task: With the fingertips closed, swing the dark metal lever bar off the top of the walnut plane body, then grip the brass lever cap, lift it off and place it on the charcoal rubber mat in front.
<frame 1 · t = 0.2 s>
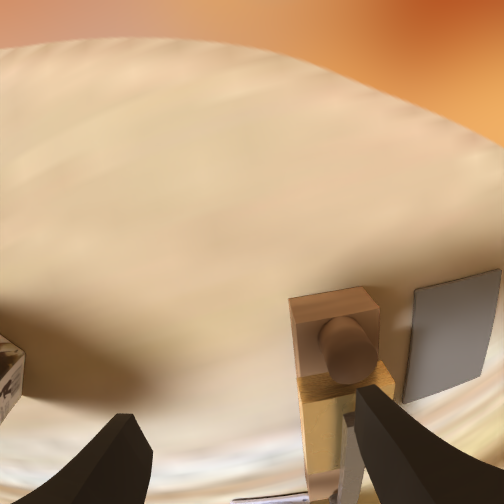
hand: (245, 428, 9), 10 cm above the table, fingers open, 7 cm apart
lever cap: (339, 411, 18), point 3 cm above the table, touching plane body
plane body: (330, 407, 21), on the table
mat: (453, 339, 20), on the table
lever: (345, 475, 17), point 5 cm above the table, hinge at 0.0°
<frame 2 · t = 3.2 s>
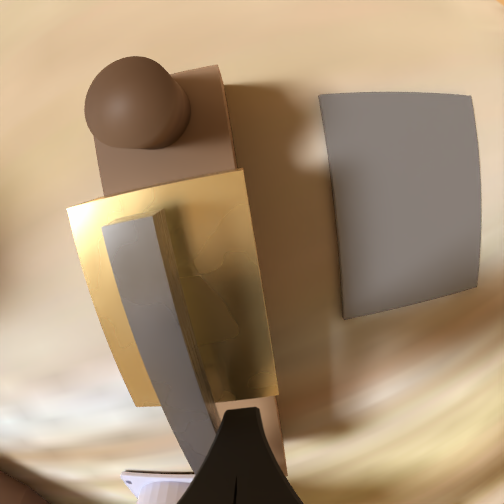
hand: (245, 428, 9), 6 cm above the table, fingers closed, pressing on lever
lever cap: (187, 283, 11), point 3 cm above the table, touching plane body
plane body: (210, 309, 15), on the table
mat: (415, 201, 13), on the table
brown round pot: (22, 497, 22), on the table
lever: (211, 425, 10), point 5 cm above the table, hinge at 0.0°, touching gripper
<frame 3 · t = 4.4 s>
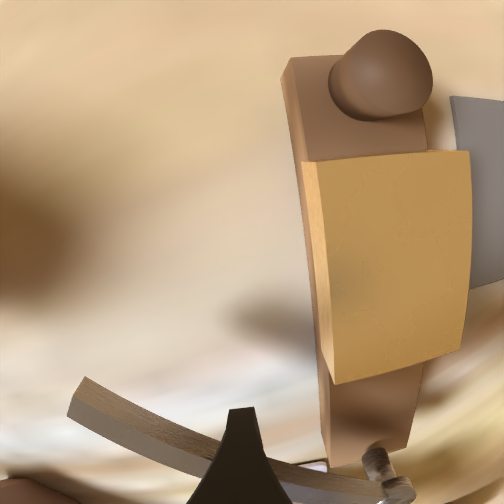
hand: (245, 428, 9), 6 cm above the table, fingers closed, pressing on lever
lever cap: (381, 253, 11), point 3 cm above the table, touching plane body
plane body: (357, 286, 14), on the table
lever: (275, 456, 11), point 5 cm above the table, hinge at 49.5°, touching gripper
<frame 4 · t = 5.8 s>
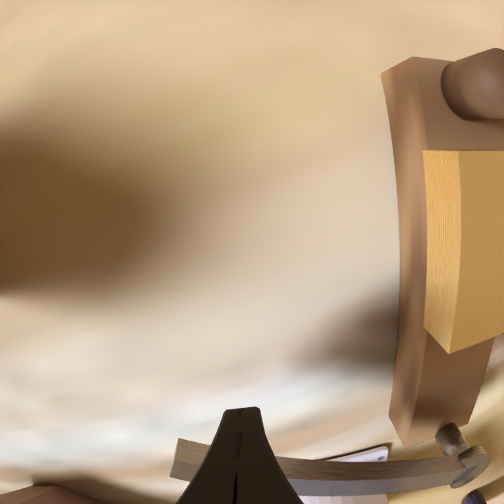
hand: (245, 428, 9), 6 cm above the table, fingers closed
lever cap: (475, 236, 11), point 3 cm above the table, touching plane body
plane body: (437, 269, 14), on the table
lever: (361, 457, 11), point 5 cm above the table, hinge at 64.1°, touching gripper
flask: (471, 499, 24), on the table
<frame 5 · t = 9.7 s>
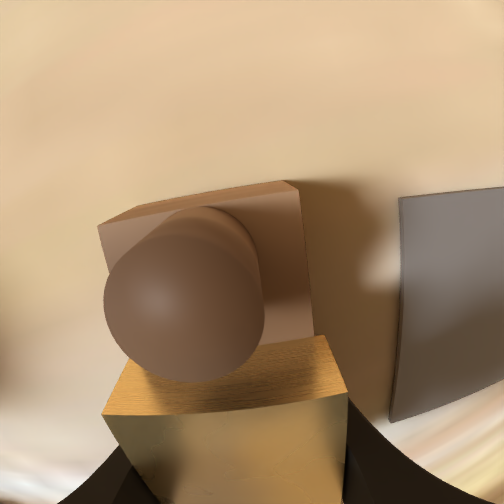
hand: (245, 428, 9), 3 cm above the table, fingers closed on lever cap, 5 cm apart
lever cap: (246, 440, 9), point 3 cm above the table, touching gripper, plane body
plane body: (255, 424, 12), on the table
mat: (477, 308, 11), on the table
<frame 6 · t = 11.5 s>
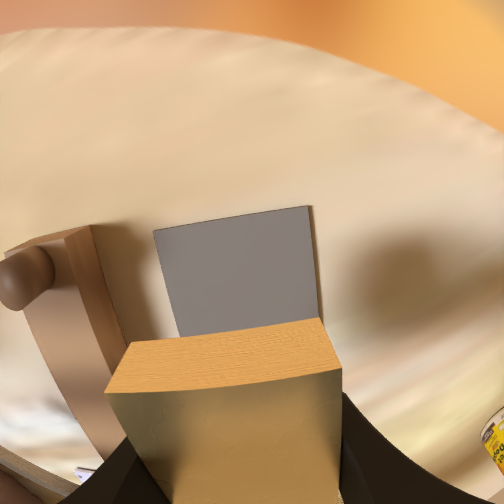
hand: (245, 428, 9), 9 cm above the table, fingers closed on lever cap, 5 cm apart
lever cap: (244, 425, 9), point 9 cm above the table, touching gripper
plane body: (106, 369, 19), on the table
mat: (244, 306, 18), on the table
brown round pot: (10, 488, 27), on the table
supplement bottle: (497, 420, 23), on the table
lever: (52, 468, 16), point 5 cm above the table, hinge at 64.4°
when the fingers open (2 cm above the table, at t = 13.3 s): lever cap drops 1 cm, resting on mat.
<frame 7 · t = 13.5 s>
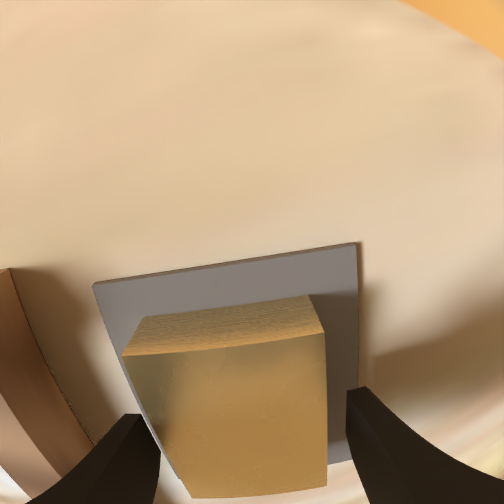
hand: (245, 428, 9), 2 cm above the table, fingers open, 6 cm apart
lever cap: (242, 395, 10), resting on mat
plane body: (63, 447, 12), on the table
mat: (245, 395, 11), on the table
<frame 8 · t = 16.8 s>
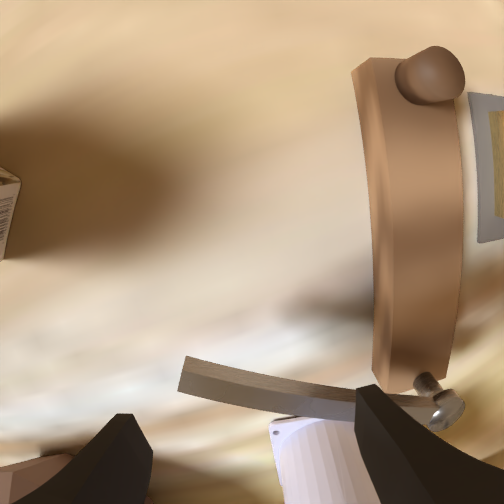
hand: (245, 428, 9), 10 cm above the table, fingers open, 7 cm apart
plane body: (405, 232, 18), on the table
brown round pot: (94, 489, 26), on the table
lever: (341, 388, 14), point 5 cm above the table, hinge at 64.4°
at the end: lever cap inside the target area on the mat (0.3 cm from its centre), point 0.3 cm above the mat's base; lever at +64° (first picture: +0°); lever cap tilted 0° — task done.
